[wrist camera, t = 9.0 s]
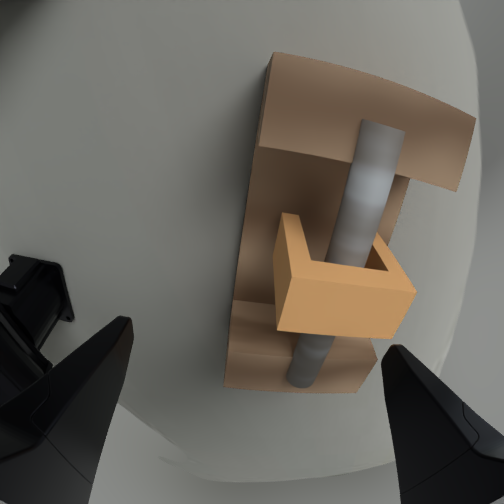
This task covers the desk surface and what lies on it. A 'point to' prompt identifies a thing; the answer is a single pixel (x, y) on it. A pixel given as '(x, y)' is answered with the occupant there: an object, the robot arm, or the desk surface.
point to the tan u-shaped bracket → (337, 289)
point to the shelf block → (329, 205)
